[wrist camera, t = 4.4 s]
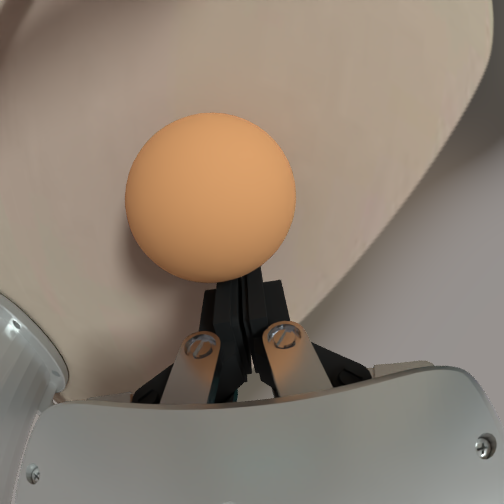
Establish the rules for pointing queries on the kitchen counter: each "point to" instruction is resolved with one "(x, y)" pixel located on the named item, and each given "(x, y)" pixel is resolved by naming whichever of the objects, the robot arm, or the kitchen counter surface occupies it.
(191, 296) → the kitchen counter surface
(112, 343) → the kitchen counter surface
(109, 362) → the kitchen counter surface
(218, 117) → the ball
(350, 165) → the kitchen counter surface
